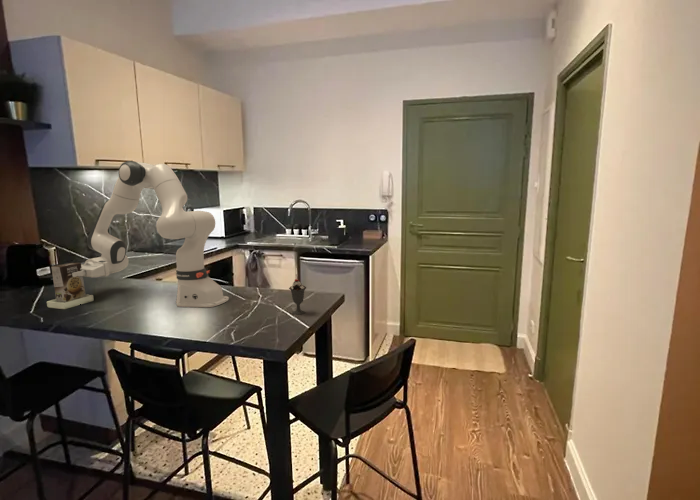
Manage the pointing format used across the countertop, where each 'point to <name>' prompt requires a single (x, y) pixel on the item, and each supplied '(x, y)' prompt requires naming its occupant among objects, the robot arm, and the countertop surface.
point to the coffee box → (67, 282)
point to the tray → (69, 304)
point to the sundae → (297, 295)
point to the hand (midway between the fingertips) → (65, 274)
